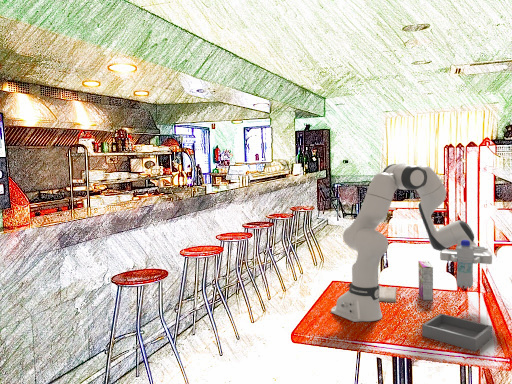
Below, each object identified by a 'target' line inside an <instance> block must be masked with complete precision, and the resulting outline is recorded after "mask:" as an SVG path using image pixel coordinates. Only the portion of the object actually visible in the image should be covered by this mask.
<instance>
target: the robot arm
mask: <svg viewBox="0 0 512 384" xmlns="http://www.w3.org/2000/svg"><path fill="white" fill-rule="evenodd" d="M398 189H399V190H405V191H406V190H408V191H414V190H416V192H417V194H418V195H419V198H420V201H419V203H418V211H419V214H420V217H421V219H422V222H423V225H424V227H425V230H426V233H427V235H428V236H427V237H428V242H429V244H430V246H431V247H432V249H433V250H436V251H439V259H440V261H447V262H453V263H457V255H456V254H457V248H458V247H459V246H462V245H461V241H462V240H468V241H470V247H472V248H473V252H474V259H473V265H474V264H476V265H477V264H485V265H492V264H493V255H492V252H491V251H490V250H489V247H484V246H478V245H477V244H476V243H475V233H474V232H473V230H472V228H471V226H470V225H469V224H468V222H465V221H464V220H462V219H461V220H460V219H459V220H456V221H453V222H451V223H449V224H446V225H444V226H441V227H440V228H436V227H435V223H434V220H433V219H432V215H433V213H434V212H435V211H436V210H437V209H438V208H440V206H441V205H442V204H443V203H444V201H445V200H446V196H447V189H446V187H445V185H444V183H443V181H442V180H441V179H440V177H439V176H438V174H437V173H436V172H435V171H434V169H433V168H432V167H430V166H429V165H426V164H421V165H418V166H417V165H415V164H406V163H393V164H392V163H391V164H389V165H387V166H386V167H385V168H384V169H383V170H382V172H378V173H375V175H374V176H373V177H372V179H371V181H370V184H369V186H368V188H367V190H366V194H365V196H364V199H363V202H362V205H361V208H360V210H359V212H358V214H357V216H356V218H355V219H354V220H353V222H352V223H351V224H350V225H349V226H347V227H346V228H345V229H344V232H343V234H342V238H343V242H344V243H345V244H346V245H347V246H348V247H349V248H350V249H352V250H354V251H356V252H357V256H356V260H355V262H354V263H353V264H352V267H351V273H352V274H351V283H349V284H346V286H347V287H346V288H349V289H348V290H347V291H346V292H345V293H343V294H342V295H340V296H339V297H338V298H337V300H336V303H335V304H336V305H334V306H333V307H332V308H331V309H330V310H331V311H330V313H331V314H333V315H334V314H335V315H337V316H338V317H342V318H344V319H346V320H349V321H351V322H375V321H379V320H381V319H382V318H383V314H382V310H381V305H380V301H379V286H380V284H379V269H380V268H379V266H380V262H381V259H382V256H383V255H385V254H386V252H387V251H388V249H389V241H388V240H389V239H388V238H387V237H386V235H384V234H383V233H381V232H380V231H378V230H376V229H377V228H378V226H379V225H380V224H381V223H382V222H384V221H385V220H386V219H387V216H388V212H389V210H390V207H391V204H392V201H393V198H394V194H395V192H396V191H397V190H398ZM453 246H456V247H455V249H449V248H452V247H453Z"/></svg>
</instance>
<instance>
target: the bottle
mask: <svg viewBox="0 0 512 384" xmlns="http://www.w3.org/2000/svg"><path fill="white" fill-rule="evenodd" d="M461 245H462V246H459V247H458V248H457V254H456V255H457V262H456V264H457V265H456V269H457V271H456V286H457V287H458V288H461V289H463V288H464V289H471V288H472V287H473V285H474V274H473V273H474V272H473V271H474V263H473V259H474V252H473V248H472V247H470V241H468V240H462V241H461Z"/></svg>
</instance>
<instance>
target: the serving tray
mask: <svg viewBox="0 0 512 384" xmlns="http://www.w3.org/2000/svg"><path fill="white" fill-rule="evenodd" d="M421 326H422V332H421V335H422V337H424V338H427V339H431V340H435V341H438V342H442V343H445V344H449V345H453V346H456V347H459V348H462V349H466V350H470V351H473V352H477V351H478V350H479V349H481V348H482V347H483V346H484V345H485V344H487V342H489V341H490V340H491V339H492V338H493V326H492V325H490V324H485V323H481V322H478V321H473V320H469V319H465V318H460V317H457V316H453V315H448V314H444V313H439V314H437V315H436V316H434V317H432V318H431V319H429V320H428V321H426V322H424V323H423V324H422V325H421Z"/></svg>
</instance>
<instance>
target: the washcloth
mask: <svg viewBox="0 0 512 384" xmlns="http://www.w3.org/2000/svg"><path fill="white" fill-rule="evenodd" d="M379 302H387V303H388V302H389V303H397V288H396V286H395V287H392V286H391V287H390V286H389V287H385V286H380V285H379Z"/></svg>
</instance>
